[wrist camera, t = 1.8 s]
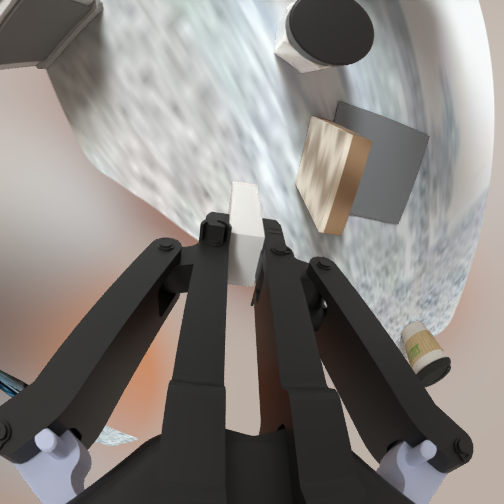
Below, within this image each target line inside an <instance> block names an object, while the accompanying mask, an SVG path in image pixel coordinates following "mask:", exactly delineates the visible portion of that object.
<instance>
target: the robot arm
mask: <svg viewBox="0 0 504 504" xmlns="http://www.w3.org/2000/svg"><path fill="white" fill-rule="evenodd" d="M254 282H256V286H255V290H254V294H253V299H252V302H251V306H253V304H254V309H255V327H256V345H257V363H258V379H259V396H260V397H259V398H260V414H261V427H260V432H259V435H258V436H250V435H246V434H243V433H239V432H235V431H232V430H228V429H225V414H226V413H225V412H226V390H225V386H224V360H225V328H226V305H227V284H233V285H241V286H250V287H253V285H254ZM184 292H188V294H187V299H186V304H185V309H184V315H183V319H182V325H181V330H180V336H179V341H178V347H177V353H176V358H175V365H174V371H173V376H172V380H171V381H170V382H169V386H168V391H167V398H166V404H165V412H164V419H163V426H162V434H160V435H158V436H155V437H153V438H151V439H149V440H148V441H146V442H145V443H143V444H142V445H141V446H140V447H139V448H137V449H136V450H135V451H134V452H133V453H131V454H130V455H129V456H128V457H126V458H125V459H124V460H123V461H122V462H120V463H119V464H118V465H117V466H115V467H114V468H113V469H112V470H110V471H109V472H108V473H106V474H105V475H104V476H103V477H101V478H100V479H99V480H97V481H96V482H95V483H93V484H92V485H91V486H89V487H88V488H87V489H85V490H84V479H85V477H86V475H87V474H88V472H89V470H90V468H91V457H90V454H89V452H88V449H89V448H90V447H91V445H92V444H93V443H94V442H95V440H96V439H97V438H98V436H99V435H100V433H101V432H102V430H103V428H104V427H105V425H106V423H107V421H108V419H109V417H110V416H111V414H112V412H113V410H114V408H115V406H116V405H117V403H118V401H119V399H120V397H121V395H122V394H123V392H124V390H125V388H126V387H127V385H128V383H129V381H130V380H131V378H132V376H133V374H134V372H135V371H136V369H137V367H138V366H139V364H140V362H141V360H142V359H143V357H144V355H145V353H146V352H147V350H148V348H149V347H150V345H151V343H152V342H153V340H154V338H155V336H156V335H157V333H158V331H159V330H160V328H161V326H162V325H163V323H164V321H165V320H166V318H167V316H168V315H169V313H170V312H171V310H172V308H173V307H174V305H175V303H176V302H177V300H178V298H179V296H180V293H184ZM324 302H326V304H327V308H326V306H325V305H324ZM321 360H322V362H323V364H324V366H325V368H326V370H327V372H328V374H329V376H330V378H331V379H332V382H333V383H334V385H335V387H336V389H337V391H338V392H336V390H335V389H331V388H328V386H327V384H326V380H325V376H324V372H323V367H322V363H321ZM338 393H339V394H338ZM339 395H340V397H341V399H342V401H343V403H344V405H345V407H346V409H347V411H348V413H349V415H350V417H351V419H352V421H353V423H354V425H355V427H356V429H357V431H358V433H359V435H360V437H361V439H362V440H363V442H364V444H365V446H366V447H367V449H368V450H369V452H370V453H371V454H372V456H373V457H374V458H375V459H376V461H377V462H378V463H379V464H380V467H379V468H378V469H377V471H375V470H373V469H372V468H371V467H370V466H369V465H368V464H366V463H365V462H364V461H363V460H362V459H361V458H360V457H359V456H357V455H356V454H355V453H354V452H353V451H352V450H351V445H350V441H349V436H348V431H347V426H346V422H345V418H344V413H343V409H342V405H341V401H340V397H339ZM472 454H473V443H472V440H471V438H470V437H469V435H468V434H467V433H466V432H465V431H464V430H463V429H462V428H460V427H459V426H458V425H457V424H456V423H455V422H454V421H453V420H452V419H451V418H450V417H449V416H447V415H446V414H445V413H444V412H443V411H442V410H441V409H440V408H439V407H438V406H436V405H435V403H434V402H433V400H432V398H431V397H430V395H429V394H428V392H427V391H426V389H425V388H424V386H423V384H422V383H421V381H420V380H419V378H418V377H417V375H416V374H415V372H414V371H413V369H412V368H411V366H410V365H409V364H408V362H407V360H406V359H405V357H404V356H403V355H402V353H401V352H400V350H399V349H398V347H397V346H396V344H395V343H394V342H393V340H392V339H391V337H390V336H389V335H388V333H387V332H386V330H385V329H384V328H383V326H382V325H381V323H380V322H379V321H378V319H377V318H376V317H375V315H374V314H373V312H372V311H371V310H370V308H369V307H368V306H367V304H366V303H365V302H364V300H363V299H362V298H361V296H360V295H359V294H358V292H357V291H356V290H355V288H354V287H353V286H352V285H351V283H350V282H349V281H348V279H347V278H346V277H345V275H344V274H343V273H342V272H341V270H340V269H339V268H338V267H337V265H336V264H335V263H334V262H333V261H331V260H329V259H327V258H325V257H313V258H312V259H311V260H310V263H306V262H303V261H300V260H298V259H296V258H295V257H294V254H293V252H292V250H291V249H290V248H289V247H287V246H286V244H285V240H284V236H283V232H282V228H281V225H280V224H279V223H278V222H277V221H276V220H271V219H264V218H262V215H261V208H260V202H259V195H258V189H257V185H254V184H248V183H241V182H234V181H233V186H232V192H231V198H230V204H229V211H228V214H224V213H216V212H211V213H209V214H208V215H207V216H206V220H204V221H202V223H201V226H200V237H199V243H198V244H196V245H193V246H189V247H182V246H181V243H180V242H179V241H178V240H175V239H173V238H159V239H156V240H155V241H153V242H152V243H151V244H150V245H149V246H148V247H147V248H146V249H145V250H144V251H143V252H142V253H141V254H140V255H139V256H138V257H137V258H136V259H135V261H134V262H133V263H132V264H131V265H130V266H129V267H128V268H127V269H126V270H125V271H124V272H123V274H122V275H121V276H120V277H119V278H118V279H117V280H116V281H115V282H114V283H113V284H112V286H111V287H110V288H109V289H108V290H107V291H106V292H105V293H104V295H103V296H102V297H101V298H100V299H99V300H98V301H97V303H96V304H95V305H94V306H93V307H92V308H91V310H90V311H89V312H88V313H87V314H86V315H85V317H84V318H83V319H82V320H81V322H80V323H79V324H78V325H77V326H76V328H75V329H74V330H73V331H72V333H71V334H70V335H69V336H68V338H67V339H66V340H65V341H64V343H63V344H62V345H61V346H60V348H59V349H58V350H57V352H56V353H55V354H54V356H53V357H52V358H51V359H50V361H49V362H48V363H47V365H46V366H45V368H44V369H43V370H42V372H41V373H40V375H39V376H38V377H37V379H36V380H35V381H34V382H33V383H32V384H30V385H29V386H27V387H26V388H25V389H23V390H22V391H20V392H19V393H18V394H16V395H15V396H14V397H12V398H11V399H9V400H8V401H7V402H5V403H4V404H3V405H1V406H0V455H1V456H2V457H4V458H6V459H7V460H9V461H10V462H12V463H13V464H14V465H15V466H16V468H17V469H18V471H19V472H20V474H21V475H22V477H23V478H24V480H25V481H26V483H27V484H28V485H29V487H30V488H31V489H32V490H33V492H34V493H35V494H36V496H37V497H38V498H39V500H40V501H41V502H42V503H43V504H428V502H429V501H430V500H431V498H432V496H433V495H434V494H435V492H436V491H437V489H438V488H439V486H440V485H441V483H442V481H443V480H444V478H445V476H446V475H447V474H448V473H449V472H451V471H453V470H455V469H457V468H458V467H460V466H462V465H464V464H466V463H467V462H469V460H470V459H471V458H472Z"/></svg>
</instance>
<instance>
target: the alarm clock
mask: <svg viewBox="0 0 504 504" xmlns="http://www.w3.org/2000/svg"><path fill="white" fill-rule="evenodd" d="M102 8H103V3H102V2H101V1H100V0H0V70H3V69H10V68H19V67H28V66H37V68H38V69H45V68H48V67H50V66H51V65H52V64H53V62H54V61H55V60H56V59H57V57H58V56H59V55H60V54H61V53H62V51H63V50H64V49H65V48H66V47H67V46H68V45H69V43H70V42H71V41H72V40H73V39H74V38H75V37H76V36H77V35H78V34H79V33H80V32H81V30H82V29H83V28H84V27H85V26H86V25H87V24H88V23H89V22H90V21H91V20H92V19H93V18H95V17H96V16H97V15H98V14H99V13H100V12H101V10H102Z"/></svg>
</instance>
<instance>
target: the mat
mask: <svg viewBox="0 0 504 504" xmlns="http://www.w3.org/2000/svg"><path fill="white" fill-rule="evenodd" d="M334 123H336V124H338V125H340V126H343V127H345V128H347V129H349V130H351V131H353V132H355V133H357V134H359V135H361V136H363V137H365V138H367V139H369V140H371V141H372V144H371V148H370V151H369V155H368V158H367V161H366V164H365V168H364V171H363V174H362V177H361V180H360V184H359V187H358V190H357V193H356V196H355V199H354V202H353V205H352V207H351V210H350V213H349V214H352V215H357V216H362V217H367V218H371V219H376V220H380V221H385V222H389V223H394V224H399V221H400V219H401V216H402V214H403V211H404V209H405V206H406V204H407V201H408V199H409V196H410V193H411V191H412V188H413V185H414V183H415V180H416V177H417V174H418V171H419V168H420V165H421V162H422V159H423V156H424V153H425V150H426V147H427V143H428V140H429V137H430V136H428V135H426V134H424V133H421V132H419V131H417V130H415V129H413V128H410V127H408V126H406V125H403V124H401V123H398V122H396V121H393V120H391V119H388V118H386V117H383V116H381V115H378V114H375V113H372V112H370V111H367V110H364V109H361V108H358V107H355V106H352V105H349V104H346V103H342V102H339V103H338V107H337V111H336V115H335V119H334Z"/></svg>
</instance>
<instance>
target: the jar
mask: <svg viewBox="0 0 504 504" xmlns="http://www.w3.org/2000/svg"><path fill="white" fill-rule="evenodd" d="M373 41H374V29H373V25H372V22H371V20H370V18H369V16H368V14H367V13H366V11H365V10H364V9H363V8H362V7H361V6H360V5H359V4H358V3H357V2H356V1H354V0H297V1H296V2H295V3H291V4H289V6H288V7H287V9H286V10H285V12H284V14H283V15H282V17H281V19H280V20H279V22H278V26H277V33H276V39H275V46H274V53H275V54H277V55H278V56H279V57H281V58H282V59H284V60H285V61H286V62H288V63H289V64H290V65H292V66H293V67H294V68H296V69H297V70H298V71H299V72H301V73H305V72H310V71H316V70H321V69H325V68H329V67H335V66H342V65H349V64H353V63H355V62H357V61H359V60H361V59H362V58H364V57H365V56H366V55H367V54H368V52H369V51H370V49H371V47H372V45H373Z"/></svg>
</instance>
